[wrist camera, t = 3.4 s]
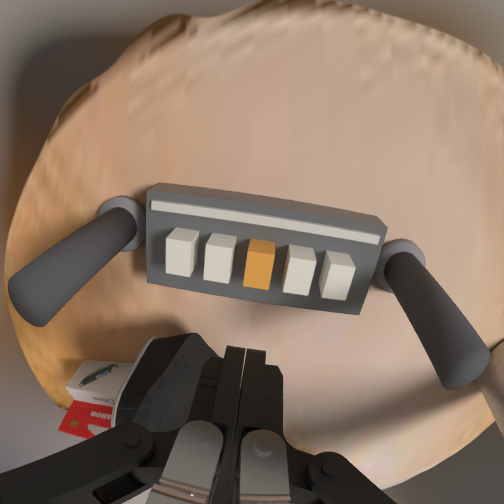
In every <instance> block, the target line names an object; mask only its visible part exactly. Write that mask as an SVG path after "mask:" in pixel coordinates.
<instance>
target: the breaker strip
mask: <svg viewBox="0 0 504 504" xmlns="http://www.w3.org/2000/svg"><path fill="white" fill-rule="evenodd" d="M387 229H388V227H387V226H386V225H385V224H384V223H383V222H382V221H381V220H380V219H379V218H378V217H377V216H373V215H368V214H363V213H358V212H353V211H348V210H343V209H337V208H332V207H327V206H321V205H315V204H310V203H304V202H298V201H292V200H286V199H280V198H274V197H267V196H261V195H254V194H247V193H240V192H233V191H225V190H218V189H210V188H202V187H194V186H185V185H177V184H167V183H159V184H157V185H155V186H153V187H152V188H150V189H148V190H147V197H146V266H147V283H152V284H157V285H162V286H168V287H173V288H178V289H184V290H189V291H195V292H201V293H206V294H212V295H218V296H224V297H230V298H236V299H242V300H249V301H255V302H262V303H269V304H275V305H282V306H289V307H297V308H304V309H312V310H319V311H327V312H335V313H344V314H353V315H359V314H360V311H361V309H362V306H363V303H364V300H365V298H366V295H367V292H368V289H369V286H370V283H371V280H372V277H373V274H374V271H375V268H376V265H377V262H378V259H379V256H380V252H381V249H382V246H383V242H384V239H385V236H386V232H387Z"/></svg>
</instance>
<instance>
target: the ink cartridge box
mask: <svg viewBox="0 0 504 504" xmlns="http://www.w3.org/2000/svg"><path fill="white" fill-rule="evenodd" d="M133 364H134V363H121V362H107V361H95V360H84V361H83V362H82V363H81V365H80V366H79V368H78V369H77V370H76V372H75V373H74V375H73V376H72V377H71V379H70V380H69V382H68V383H67V385H66V386H65V388H66V389H67V391H68V392H69V393H70V395H71V396H72V398H73V399H74V401H73V403H72V404H71V406H70V408H69V410H68V412H67V413H66V415H65V417H64V419H63V421H62V423H61V425H60V427H59V431H61V432H64V433H67V434H71V435H74V436H78V437H81V438H84V439H89V438H92V437H94V436H95V435H94V434H93V433H91V431H90V430H88V425H89V424H91V425H95V426H99V427H104V428H109V429H111V417H112V410H113V405H114V402H115V399H116V396H117V393H118V391H119V389H120V387H121V385H122V383H123V381H124V380H125V378H126V376H127V374H128V373H129V371H130V369H131V368H132V366H133Z"/></svg>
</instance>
